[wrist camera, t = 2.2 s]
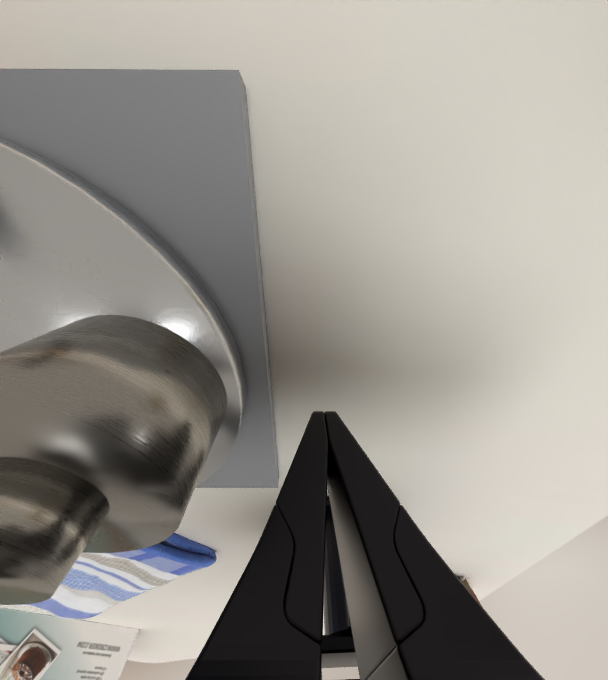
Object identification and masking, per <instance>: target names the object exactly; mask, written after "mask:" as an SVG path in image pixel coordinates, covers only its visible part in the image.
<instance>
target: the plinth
mask: <svg viewBox="0 0 608 680" xmlns="http://www.w3.org/2000/svg"><path fill="white" fill-rule="evenodd" d="M0 139H3V140H6V141H8V142H11V143H14V144H17V145H19V146H22V147H24V148H26V149H28V150H30V151H32V152H34V153H36V154H38V155H40V156H42V157H44V158H46V159H48V160H50V161H52V162H54V163H56V164H58V165H60V166H62V167H64V168H66V169H68V170H69V171H71V172H72V173H74V174H76V175H77V176H79V177H80V178H82V179H84V180H85V181H87V182H88V183H90V184H92V185H93V186H95V187H96V188H98V189H100V190H101V191H103V192H104V193H106V194H107V195H109V196H110V197H111V198H113V199H114V200H115V201H117V202H118V203H119V204H120V205H122V206H123V207H124V208H126V209H127V210H128V211H130V212H131V213H132V214H133V215H135V216H136V217H137V218H139V219H140V220H141V221H143V222H144V223H145V224H146V225H147V226H148V227H149V228H150V229H151V230H152V231H153V232H154V233H155V234H157V235H158V236H159V237H160V238H161V239H162V240H163V241H164V242H165V243H166V244H167V245H168V246H169V247H170V248H172V249H173V250H174V251H175V253H176V254H177V255H178V256H179V257H180V258H181V259H182V261H183V262H184V263H185V264H186V265H187V266H188V267H189V269H190V270H191V271H192V272H193V273H194V274H195V275H196V277H197V278H198V279H199V280H200V282H201V283H202V285H203V286H204V288H205V289H206V290H207V292H208V293H209V295H210V296H211V297H212V299H213V300H214V302H215V303H216V305H217V306H218V308H219V310H220V312H221V313H222V315H223V317H224V319H225V321H226V323H227V324H228V326H229V328H230V330H231V332H232V335H233V337H234V340H235V343H236V345H237V348H238V350H239V353H240V356H241V361H242V365H243V369H244V373H245V384H246V401H245V411H244V414H243V418H242V421H241V425H240V428H239V431H238V434H237V437H236V440H235V444H234V446H233V448H232V450H231V452H230V454H229V456H228V458H227V459H226V460H225V462H224V463H223V464H222V465H221V467H220V468H219V469H218V470H217V471H216V472H215V473H214V474H213V475H212V476H210V477H209V478H208V479H207V480H205V481H204V482H202V483H201V484H199V485H197V486H196V487H195V488H278V481H279V471H278V459H277V447H276V436H275V424H274V412H273V401H272V389H271V377H270V366H269V354H268V342H267V331H266V319H265V307H264V296H263V284H262V272H261V261H260V249H259V237H258V226H257V214H256V203H255V191H254V179H253V168H252V156H251V144H250V133H249V121H248V109H247V98H246V87H245V85H244V82H243V80H242V77H241V75H240V72H239V70H118V69H0Z"/></svg>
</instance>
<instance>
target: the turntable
mask: <svg viewBox="0 0 608 680" xmlns="http://www.w3.org/2000/svg"><path fill="white" fill-rule="evenodd" d="M96 315H124V316H129V317H135V318H139V319H143V320H146V321H150V322H153V323H155V324H158V325H160V326H163V327H165V328H167V329H169V330H171V331H173V332H175V333H177V334H178V335H180V336H181V337H183V338H184V339H186V340H188V341H189V342H190V343H191V344H193V345H194V346H195V347H196V348H198V349H199V350H200V351H201V352H202V353H203V354H204V355H205V356H206V357H207V358H208V359H209V361H210V362H211V363H212V364H213V365H214V367H215V368H216V370H217V371H218V373H219V375H220V377H221V379H222V381H223V383H224V386H225V390H226V394H227V410H226V414H225V417H224V419H223V422H222V424H221V426H220V429H219V431H218V433H217V436H216V438H215V441H214V443H213V445H212V448H211V450H210V453H209V455H208V457H207V460H206V462H205V465H204V467H203V469H202V472H201V474H200V477H199V479H198V481H197V484H196V486H197V485H199V484H201V483H202V482H204V481H205V480H207V479H208V478H209V477H210V476H212V475H213V474H214V473H215V472H216V471H217V470H218V469H219V468H220V467H221V465H222V464H223V463H224V462H225V460H226V459H227V458H228V456H229V454H230V452H231V450H232V448H233V446H234V444H235V440H236V437H237V434H238V431H239V428H240V425H241V421H242V418H243V414H244V411H245V401H246V384H245V373H244V369H243V365H242V361H241V356H240V353H239V350H238V348H237V345H236V343H235V340H234V337H233V335H232V332H231V330H230V328H229V326H228V324H227V323H226V321H225V319H224V317H223V315H222V313H221V312H220V310H219V308H218V306H217V305H216V303H215V302H214V300H213V299H212V297H211V296H210V295H209V293H208V292H207V290H206V289H205V288H204V286H203V285H202V283H201V282H200V280H199V279H198V278H197V277H196V275H195V274H194V273H193V272H192V271H191V270H190V269H189V267H188V266H187V265H186V264H185V263H184V262H183V261H182V259H181V258H180V257H179V256H178V255H177V254H176V253H175V251H174V250H173V249H172V248H170V247H169V246H168V245H167V244H166V243H165V242H164V241H163V240H162V239H161V238H160V237H159V236H158V235H157V234H155V233H154V232H153V231H152V230H151V229H150V228H149V227H148V226H147V225H146V224H145V223H144V222H143V221H141V220H140V219H139V218H137V217H136V216H135V215H133V214H132V213H131V212H130V211H128V210H127V209H126V208H124V207H123V206H122V205H120V204H119V203H118V202H117V201H115V200H114V199H113V198H111V197H110V196H109V195H107V194H106V193H104V192H103V191H101V190H100V189H98V188H96V187H95V186H93V185H92V184H90V183H88V182H87V181H85V180H84V179H82V178H80V177H79V176H77V175H76V174H74V173H72V172H71V171H69V170H68V169H66V168H64V167H62V166H60V165H58V164H56V163H54V162H52V161H50V160H48V159H46V158H44V157H42V156H40V155H38V154H36V153H34V152H32V151H30V150H28V149H26V148H24V147H22V146H19V145H17V144H14V143H11V142H8V141H6V140H3V139H0V352H2V351H4V350H7V349H9V348H12V347H14V346H17V345H19V344H21V343H24V342H26V341H29V340H31V339H34V338H36V337H38V336H41V335H43V334H46V333H48V332H51V331H53V330H55V329H58V328H60V327H63V326H65V325H68V324H70V323H73V322H75V321H78V320H80V319H83V318H86V317H91V316H96ZM196 486H195V487H196Z"/></svg>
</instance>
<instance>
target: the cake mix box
mask: <svg viewBox="0 0 608 680" xmlns="http://www.w3.org/2000/svg"><path fill="white" fill-rule="evenodd" d="M138 631H139V629H137V628H131V627H124V626H117V625H111V624H104V623H98V622H91V621H84V620H78V619H75V620H74V619H66V618H60V617H57V616H51V615H44V614H38V613H31V612H25V611H18V610H11V609H5V608H0V680H119V677H120V675H121V673H122V670H123V668H124V665H125V663H126V660H127V658H128V656H129V653H130V651H131V648H132V646H133V643H134V641H135V638H136V636H137V634H138Z"/></svg>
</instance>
